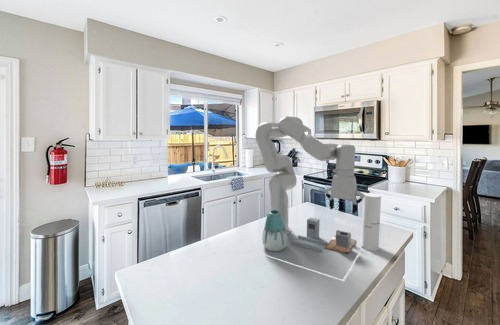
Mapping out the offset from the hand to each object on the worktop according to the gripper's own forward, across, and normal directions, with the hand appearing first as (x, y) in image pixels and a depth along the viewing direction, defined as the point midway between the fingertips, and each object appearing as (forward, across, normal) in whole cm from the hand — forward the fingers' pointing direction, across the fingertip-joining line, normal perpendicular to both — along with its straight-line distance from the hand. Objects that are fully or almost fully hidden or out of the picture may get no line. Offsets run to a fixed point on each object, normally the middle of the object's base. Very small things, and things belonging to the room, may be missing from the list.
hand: (342, 210), depth 110 cm
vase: (+19, -26, -16) cm, 36 cm away
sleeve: (+17, +1, 0) cm, 17 cm away
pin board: (+19, -1, +4) cm, 19 cm away
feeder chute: (+19, -14, -4) cm, 24 cm away
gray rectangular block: (+19, -15, +5) cm, 25 cm away
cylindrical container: (+19, +10, +11) cm, 24 cm away
